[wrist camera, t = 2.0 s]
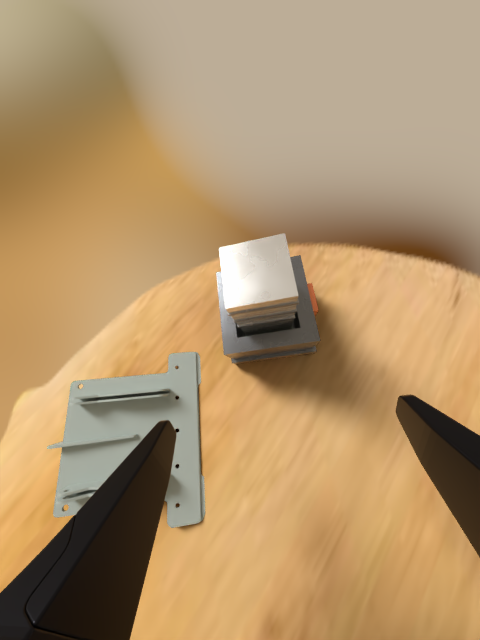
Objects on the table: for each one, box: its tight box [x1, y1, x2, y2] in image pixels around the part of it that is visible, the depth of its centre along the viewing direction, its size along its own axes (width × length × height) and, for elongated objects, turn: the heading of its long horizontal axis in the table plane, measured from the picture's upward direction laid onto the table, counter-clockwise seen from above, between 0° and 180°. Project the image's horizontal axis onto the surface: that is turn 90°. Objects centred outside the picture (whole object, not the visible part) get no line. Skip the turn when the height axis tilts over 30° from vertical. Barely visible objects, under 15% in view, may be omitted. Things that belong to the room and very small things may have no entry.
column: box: [219, 233, 299, 336], centre depth 16 cm, size 4×4×9 cm
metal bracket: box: [47, 352, 205, 528], centre depth 21 cm, size 14×6×15 cm
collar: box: [216, 255, 320, 364], centre depth 20 cm, size 8×8×6 cm
